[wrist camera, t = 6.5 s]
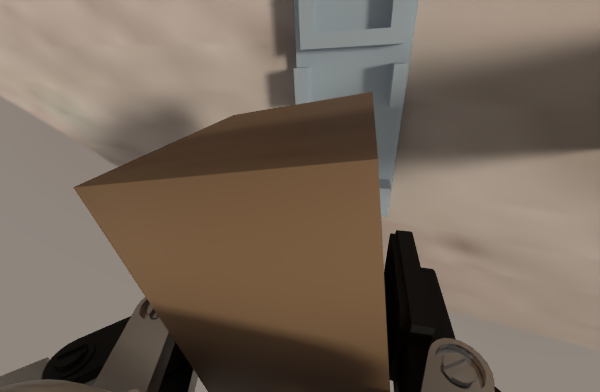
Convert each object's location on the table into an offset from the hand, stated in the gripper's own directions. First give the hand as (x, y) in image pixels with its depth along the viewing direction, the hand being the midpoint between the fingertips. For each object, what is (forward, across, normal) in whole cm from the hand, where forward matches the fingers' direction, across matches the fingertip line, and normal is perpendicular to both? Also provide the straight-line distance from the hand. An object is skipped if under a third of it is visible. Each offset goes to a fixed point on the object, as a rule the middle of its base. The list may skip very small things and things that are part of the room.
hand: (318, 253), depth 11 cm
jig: (+16, 0, -4) cm, 17 cm away
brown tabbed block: (+1, 0, 0) cm, 1 cm away
